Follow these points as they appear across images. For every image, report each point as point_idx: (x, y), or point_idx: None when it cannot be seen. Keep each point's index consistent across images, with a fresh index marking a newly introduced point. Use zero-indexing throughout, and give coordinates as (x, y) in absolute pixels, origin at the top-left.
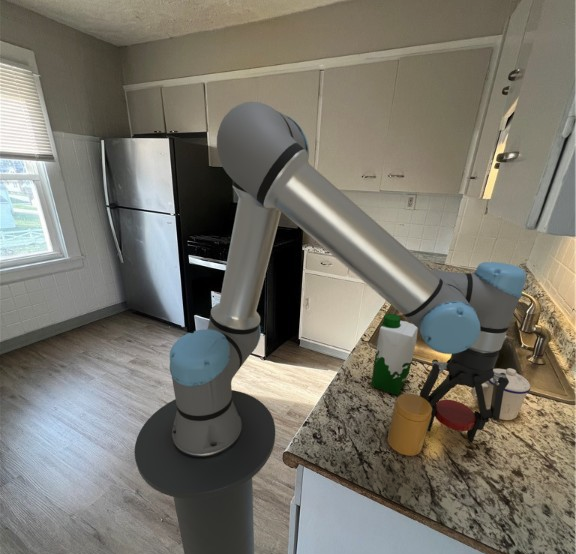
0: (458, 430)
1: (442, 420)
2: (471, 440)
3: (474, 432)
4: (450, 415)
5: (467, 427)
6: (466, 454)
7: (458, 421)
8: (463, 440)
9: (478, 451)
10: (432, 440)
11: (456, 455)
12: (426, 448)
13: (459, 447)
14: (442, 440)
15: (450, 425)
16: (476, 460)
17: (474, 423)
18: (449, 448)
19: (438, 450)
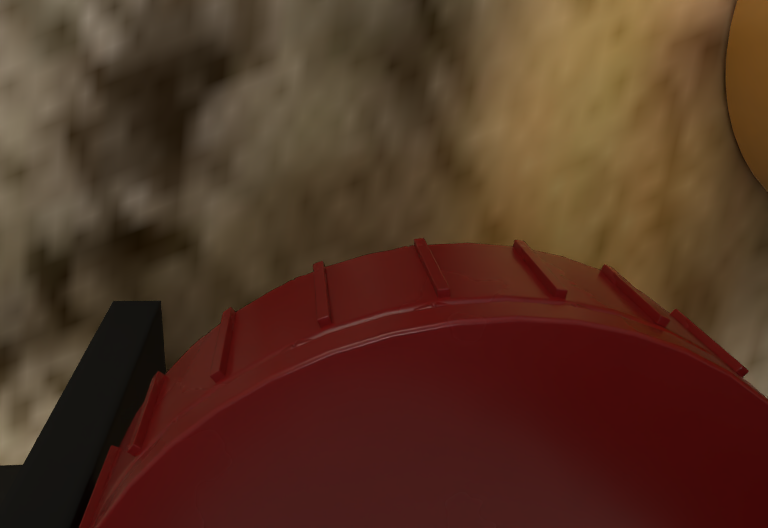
0: (406, 246)
1: (725, 359)
2: (124, 318)
3: (85, 396)
4: (611, 518)
5: (246, 343)
6: (191, 104)
7: (471, 399)
8: (209, 331)
9: (39, 215)
10: (575, 193)
11: (319, 37)
12: (675, 24)
13: (267, 196)
14: (456, 238)
15: (589, 280)
16: (70, 39)
17: (87, 512)
18: (391, 132)
19: (533, 44)
